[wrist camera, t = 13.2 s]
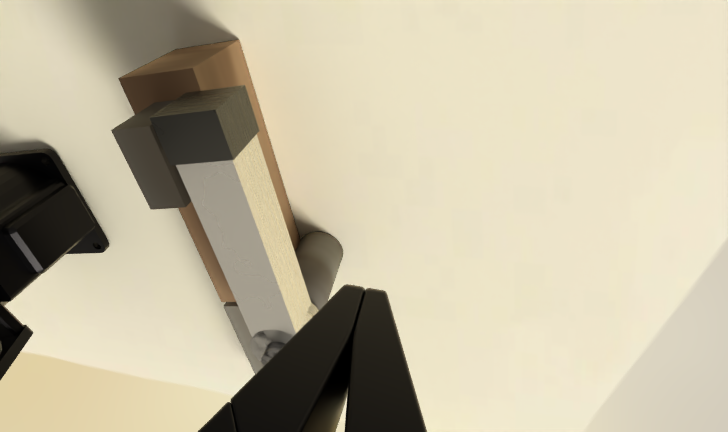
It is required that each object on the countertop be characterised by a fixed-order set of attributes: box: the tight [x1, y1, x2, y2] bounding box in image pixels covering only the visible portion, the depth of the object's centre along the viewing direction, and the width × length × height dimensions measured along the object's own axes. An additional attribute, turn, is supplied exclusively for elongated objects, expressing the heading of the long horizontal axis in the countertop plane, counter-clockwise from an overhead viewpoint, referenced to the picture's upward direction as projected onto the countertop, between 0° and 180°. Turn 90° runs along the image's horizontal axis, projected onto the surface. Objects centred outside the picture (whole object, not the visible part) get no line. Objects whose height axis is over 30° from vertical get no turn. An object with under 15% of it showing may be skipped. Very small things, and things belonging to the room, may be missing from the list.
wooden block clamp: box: [111, 40, 343, 374], centre depth 22 cm, size 5×22×6 cm, turn 10°
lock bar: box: [149, 85, 319, 366], centre depth 17 cm, size 12×3×3 cm, turn 10°
